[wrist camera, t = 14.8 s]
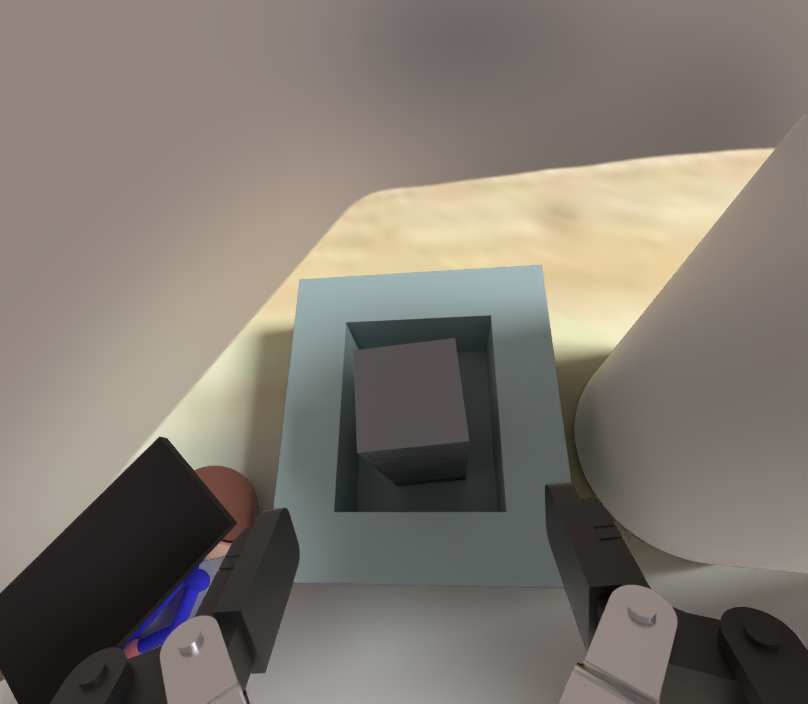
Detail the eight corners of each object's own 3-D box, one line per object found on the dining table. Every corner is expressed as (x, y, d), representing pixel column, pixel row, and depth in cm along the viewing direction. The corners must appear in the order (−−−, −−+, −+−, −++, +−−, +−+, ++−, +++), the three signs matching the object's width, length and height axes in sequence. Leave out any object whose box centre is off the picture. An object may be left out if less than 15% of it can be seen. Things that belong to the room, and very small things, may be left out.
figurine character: (116, 731, 25) (298, 517, 27) (-37, 827, 18) (225, 525, 19) (60, 635, 27) (230, 443, 29) (-96, 684, 20) (142, 426, 22)
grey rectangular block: (466, 479, 26) (469, 441, 15) (397, 486, 26) (357, 452, 16) (453, 381, 28) (448, 293, 18) (390, 388, 28) (351, 305, 18)
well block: (527, 314, 30) (541, 264, 25) (557, 577, 24) (585, 588, 18) (327, 324, 32) (299, 279, 26) (307, 572, 26) (265, 582, 20)
